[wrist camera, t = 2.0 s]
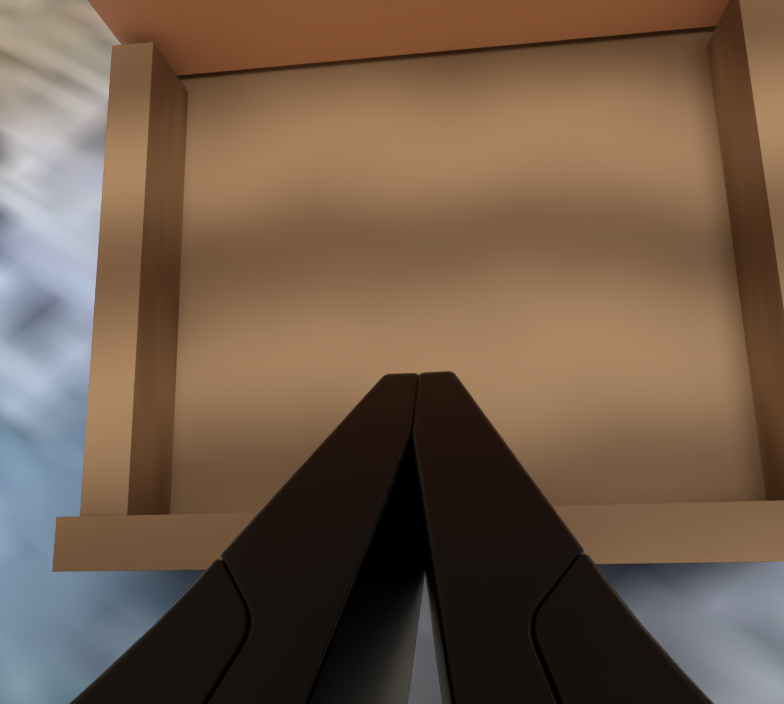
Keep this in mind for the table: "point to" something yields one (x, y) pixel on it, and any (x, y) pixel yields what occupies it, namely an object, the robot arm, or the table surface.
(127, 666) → the robot arm
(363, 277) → the brown shallow open box
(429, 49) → the tailgate
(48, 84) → the table surface
